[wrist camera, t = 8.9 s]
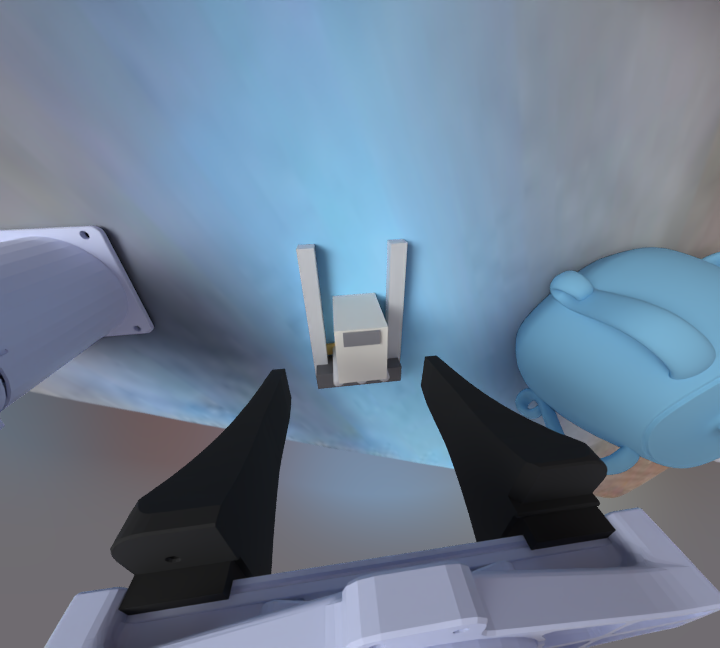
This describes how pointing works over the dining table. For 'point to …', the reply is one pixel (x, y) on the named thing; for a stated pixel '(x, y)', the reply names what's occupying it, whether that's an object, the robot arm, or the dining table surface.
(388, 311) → the socket
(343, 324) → the plug block
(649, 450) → the decorative pot
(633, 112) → the dining table surface
